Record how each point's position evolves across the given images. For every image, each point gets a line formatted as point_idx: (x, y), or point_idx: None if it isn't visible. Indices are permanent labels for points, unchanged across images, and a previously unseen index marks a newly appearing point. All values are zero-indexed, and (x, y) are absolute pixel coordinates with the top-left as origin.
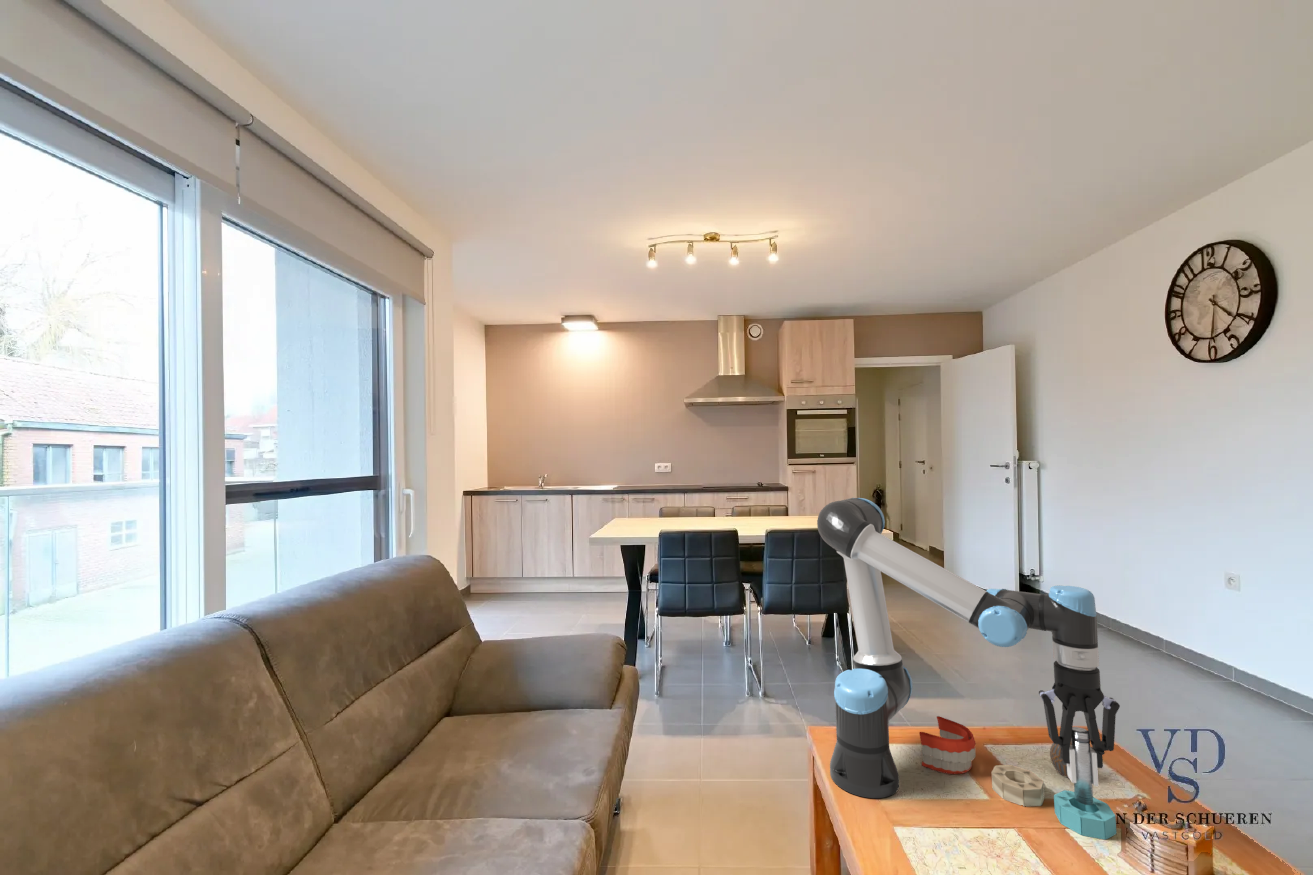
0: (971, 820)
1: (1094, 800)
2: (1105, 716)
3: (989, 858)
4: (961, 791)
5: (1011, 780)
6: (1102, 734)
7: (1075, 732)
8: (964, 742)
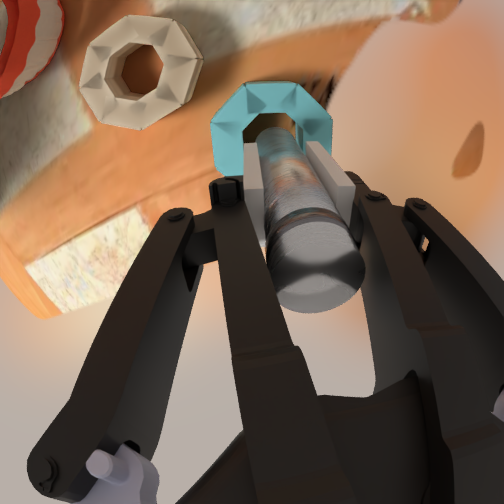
0: (79, 215)
1: (307, 111)
2: (481, 343)
3: (117, 285)
4: (52, 132)
5: (118, 98)
6: (428, 232)
7: (283, 303)
8: (2, 76)
